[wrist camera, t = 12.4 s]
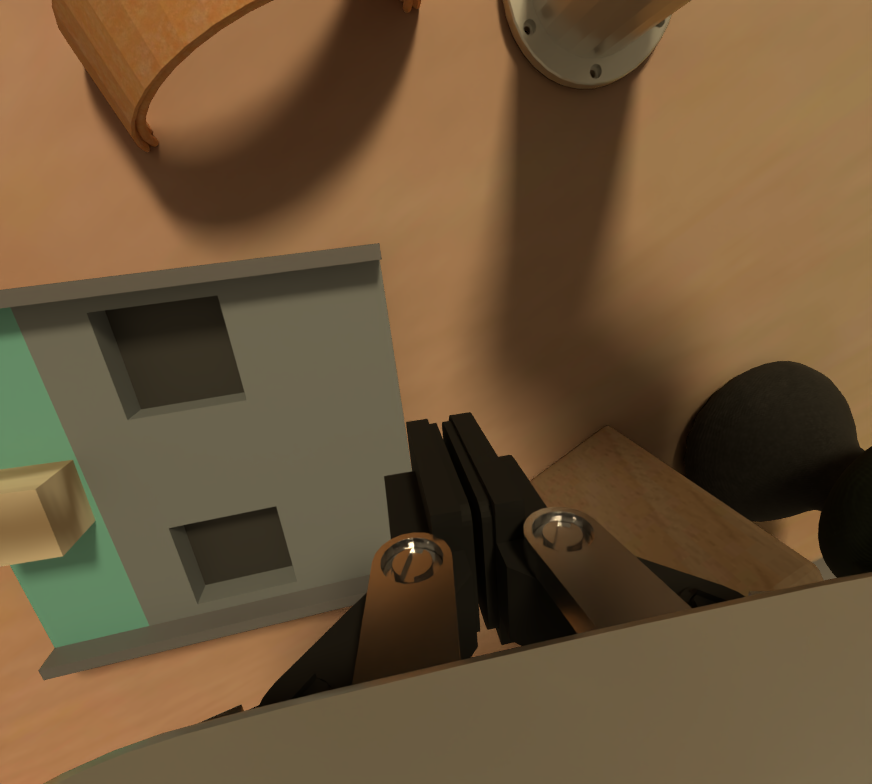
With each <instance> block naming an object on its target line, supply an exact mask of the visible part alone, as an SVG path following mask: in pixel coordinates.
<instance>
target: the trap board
mask: <svg viewBox="0 0 872 784" xmlns="http://www.w3.org/2000/svg"><path fill="white" fill-rule="evenodd" d="M381 259H382V258H381V251H380V245H379V243H378V244H370V245H361V246H353V247H345V248H337V249H329V250H321V251H313V252H305V253H297V254H288V255H280V256H272V257H264V258H256V259H248V260H240V261H232V262H224V263H215V264H207V265H199V266H191V267H183V268H175V269H167V270H159V271H151V272H143V273H134V274H126V275H118V276H110V277H102V278H94V279H86V280H78V281H70V282H61V283H53V284H45V285H37V286H29V287H21V288H13V289H5V290H0V469H7V468H15V467H22V466H30V465H37V464H45V463H53V462H60V461H68V460H73V461H74V464H75V467H76V469H77V472H78V475H79V477H80V480H81V483H82V485H83V488H84V491H85V493H86V496H87V499H88V501H89V504H90V507H91V510H92V512H93V515H94V518H95V520H96V521H95V522H94V523H93V524H92V525H91V526H90V527H89V528H88V530H87V531H86V532H85V533H84V534H83V535H82V536H81V537H80V538H79V539H78V540H77V542H76V543H75V544H74V545H73V546H72V547H71V548H70V549H69V550H68V551H67V553H66V554H65V555H64V556H62V557H56V558H50V559H44V560H38V561H31V562H25V563H19V564H13V565H10V566H11V568H12V570H13V572H14V574H15V576H16V577H17V579H18V581H19V583H20V585H21V587H22V588H23V590H24V592H25V594H26V596H27V598H28V599H29V601H30V603H31V605H32V607H33V609H34V611H35V612H36V614H37V616H38V618H39V620H40V622H41V623H42V625H43V627H44V629H45V631H46V633H47V634H48V636H49V638H50V640H51V642H52V644H53V646H54V647H55V648H54V650H53V651H52V652H51V654H50V655H49V657H48V658H47V659H46V661H45V662H44V664H43V665H42V666H41V668H40V669H39V670H38V671H39V673H40V674H41V676H42V678H43V680H47V679H51V678H55V677H59V676H63V675H67V674H72V673H76V672H80V671H84V670H88V669H92V668H96V667H100V666H105V665H109V664H113V663H117V662H121V661H125V660H129V659H134V658H138V657H142V656H146V655H150V654H154V653H158V652H162V651H167V650H171V649H175V648H179V647H183V646H187V645H191V644H195V643H200V642H204V641H208V640H212V639H216V638H220V637H224V636H229V635H233V634H237V633H241V632H245V631H249V630H253V629H257V628H262V627H266V626H270V625H274V624H278V623H282V622H286V621H291V620H295V619H299V618H303V617H307V616H311V615H315V614H319V613H324V612H328V611H332V610H336V609H340V608H344V607H348V606H352V605H354V604H355V603H356V602H357V601H358V600H359V599H361V598H362V597H363V596H364V595H365V594H366V593H367V590H368V584H369V577H370V571H371V565H372V561H373V558H374V556H375V553H376V552H377V551H378V550H379V548H380V547H381V546H382V545H383V544H385V543H386V542H388V541H389V540H390V539H391V536H390V527H389V518H388V509H387V499H386V490H385V481H384V476H387V475H393V474H399V473H405V472H411V471H412V469H411V462H410V456H409V449H408V443H407V436H406V429H405V423H404V416H403V410H402V403H401V397H400V390H399V384H398V377H397V370H396V364H395V357H394V351H393V344H392V338H391V331H390V325H389V318H388V311H387V305H386V298H385V292H384V285H383V279H382V272H381V266H380V260H381Z"/></svg>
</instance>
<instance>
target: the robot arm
mask: <svg viewBox="0 0 872 784" xmlns="http://www.w3.org/2000/svg"><path fill="white" fill-rule="evenodd" d="M690 1H691V0H503V5H504V10H505V15H506V18H507V21H508V24H509V27H510V29H511V32H512V35H513V37H514V39H515V41H516V42H517V44H518V46H519V48H520V49H521V51H522V53H523V54H524V55H525V57H526V58H527V59H528V60H529V61H530V63H531V64H532V65H533V66H534V67H535V68H536V69H537V70H538V71H540V72H541V73H542V74H543V75H545V76H546V77H547V78H548V79H551V80H553V81H555V82H557V83H559V84H561V85H563V86H567V87H572V88H576V89H594V88H597V87H601V86H605V85H609V84H611V83H612V82H614V81H616V80H618V79H620V78H622V77H624V76H625V75H627V74H628V73H630V72H631V71H633V70H634V69H636V68H637V67H638V66H639V65H640V64H641V63H642V62H643V61H644V60H645V59H646V58H647V57H648V56H649V55H650V54H651V52H652V51H653V49H654V48H655V47H656V45H657V44H658V43H659V41H660V40H661V38H662V36H663V34H664V32H665V30H666V28H667V26H668V24H669V21H670V19H671V16H672V14H673V13H674V12H676V11H677V10H678V9H680V8H681V7H683V6H684V5H685V4H687V3H688V2H690ZM524 29H525V30H527V32H528V35H527V34H526V33H525V32H524ZM590 73H591V74H592V76H591V74H590ZM406 426H407V434H408V442H409V450H410V458H411V466H412V471H411V472H405V473H399V474H393V475H387V476H384V481H385V490H386V499H387V509H388V518H389V527H390V536H391V539H390V540H389V541H388V542H386V543H385V544H383V545H382V546H381V547H380V548H379V550H378V551H377V552H376V553H375V556H374V558H373V561H372V565H371V571H370V577H369V584H368V590H367V593H366V594H365V595H364V596H363V597H362V598H361V599H359V600H358V601H357V602H356V603H355V604H354V605H353V606H352V607H351V608H350V609H349V610H348V611H347V612H346V613H345V614H344V615H343V616H342V617H341V618H340V619H339V620H338V621H337V622H336V623H335V624H334V625H333V626H332V627H331V628H330V629H329V630H328V631H327V632H326V633H325V634H324V635H323V636H322V637H321V638H320V639H319V640H318V641H317V642H316V643H315V644H314V645H313V646H312V647H311V648H310V649H309V650H308V651H307V652H306V653H305V654H304V655H303V656H302V657H301V658H300V659H299V660H298V661H297V662H296V663H295V664H294V665H293V666H292V667H291V668H290V669H288V670H287V671H286V672H285V673H284V674H283V675H282V676H281V677H280V678H279V679H278V680H277V681H276V682H275V683H274V685H273V686H272V687H271V688H270V689H269V691H268V692H267V693H266V694H265V696H264V697H263V699H262V701H261V703H260V705H258V706H256V707H254V708H251V709H249V710H246V711H244V710H243V707H242V704H241V705H239V706H236V707H234V708H232V709H229V710H227V711H225V712H223V713H220V714H218V715H216V716H213V717H211V718H209V719H207V720H204V721H202V722H200V723H197V724H194V725H191V726H187V727H183V728H180V729H176V730H172V731H169V732H165V733H162V734H159V735H156V736H153V737H151V738H148V739H145V740H142V741H139V742H137V743H134V744H131V745H128V746H125V747H123V748H120V749H117V750H114V751H112V752H110V753H107V754H105V755H103V756H101V757H98V758H96V759H94V760H92V761H89V762H87V763H85V764H83V765H80V766H78V767H76V768H74V769H71V770H69V771H67V772H65V773H62V774H60V775H59V776H57V777H55V778H53V779H51V780H49V781H48V782H46V783H44V784H872V572H869V573H863V574H857V575H851V576H846V577H840V578H834V579H829V580H824V581H819V582H815V583H810V584H805V585H800V586H796V587H791V588H786V589H781V590H776V591H749V594H748V596H747V597H745V596H744V595H742V594H741V593H739V592H737V591H735V590H733V589H730V588H728V587H726V586H723V585H721V584H718V583H715V582H712V581H709V580H705V579H702V578H699V577H696V576H693V575H690V574H687V573H684V572H681V571H678V570H675V569H672V568H669V567H666V566H663V565H660V564H657V563H654V562H651V561H648V560H645V559H642V558H639V557H636V556H634V555H633V554H632V553H631V552H630V551H629V550H628V549H627V548H626V547H625V546H623V545H622V544H621V543H620V542H619V541H618V540H617V539H616V538H615V537H614V536H613V535H611V534H610V533H609V532H608V531H607V530H606V529H605V528H604V527H603V526H602V525H601V524H599V523H598V522H597V521H596V520H595V519H593V518H592V517H591V516H589V515H588V514H586V513H584V512H581V511H579V510H576V509H572V508H567V507H549V508H548V507H547V506H546V504H545V503H544V502H543V500H542V499H541V497H540V496H539V494H538V493H537V491H536V490H535V488H534V487H533V485H532V484H531V482H530V481H529V479H528V478H527V477H526V475H525V474H524V472H523V471H522V469H521V468H520V466H519V465H518V463H517V462H516V460H515V459H514V458H513V457H512V455H506V456H500V457H498V456H497V454H496V453H495V451H494V449H493V448H492V446H491V445H490V443H489V441H488V440H487V438H486V436H485V435H484V433H483V432H482V430H481V428H480V427H479V425H478V423H477V422H476V420H475V419H474V417H473V415H472V414H471V413H470V412H469V413H462V414H456V415H450V416H449V421H446V422H442V431H443V438H442V436H441V433H440V431H439V428H438V426H437V424H436V423H433V424H429V422H428V420H427V419H423V420H417V421H410V422H406ZM478 603H479V605H478ZM479 607H480V610H481V613H482V616H483V619H484V622H485V625H486V627H487V629H493V628H496V630H497V633H498V636H499V639H500V642H501V645H504V644H508V643H513V642H515V643H517V644H519V645H521V647H516V648H512V649H508V650H503V651H499V652H494V653H490V654H485V655H481V656H476V657H472V658H471V656H472V655H473V653H474V652H475V650H476V649H477V647H478V643H477V632H479V631H480V619H479Z"/></svg>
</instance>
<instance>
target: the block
mask: <svg viewBox="0 0 872 784" xmlns="http://www.w3.org/2000/svg"><path fill="white" fill-rule="evenodd" d="M95 521H96V520H95V518H94V515H93V512H92V510H91V507H90V504H89V501H88V499H87V496H86V493H85V491H84V488H83V485H82V483H81V480H80V477H79V475H78V472H77V469H76V467H75V464H74V461H73V460H68V461H60V462H53V463H45V464H37V465H30V466H22V467H15V468H7V469H0V567H1V566H7V565H13V564H19V563H25V562H31V561H38V560H44V559H50V558H56V557H62V556H64V555H65V554H66V553H67V551H68V550H69V549H70V548H71V547H72V546H73V545H74V544H75V543H76V542H77V540H78V539H79V538H80V537H81V536H82V535H83V534H84V533H85V532H86V531H87V530H88V528H89V527H90V526H91V525H92V524H93V523H94V522H95Z"/></svg>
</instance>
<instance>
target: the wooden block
mask: <svg viewBox="0 0 872 784" xmlns="http://www.w3.org/2000/svg"><path fill="white" fill-rule="evenodd" d="M530 482H531V484H532V485H533V487H534V488H535V490H536V491H537V493H538V494H539V496H540V497H541V499H542V500H543V502H544V503H545V504H546V506H547V507H548V508H549V507H567V508H572V509H576V510H579V511H581V512H584V513H586V514H588V515H589V516H591V517H592V518H593V519H595V520H596V521H597V522H598V523H599V524H601V525H602V526H603V527H604V528H605V529H606V530H607V531H608V532H609V533H610V534H611V535H613V536H614V537H615V538H616V539H617V540H618V541H619V542H620V543H621V544H622V545H623V546H625V547H626V548H627V549H628V550H629V551H630V552H631V553H632V554H633V555H634V556H636V557H639V558H642V559H645V560H648V561H651V562H654V563H657V564H660V565H663V566H666V567H669V568H672V569H675V570H678V571H681V572H684V573H687V574H690V575H693V576H696V577H699V578H702V579H705V580H709V581H712V582H715V583H718V584H721V585H723V586H726V587H728V588H730V589H733V590H735V591H737V592H739V593H741V594H742V595H744V596H745V597H747V596H748V594H749V591H776V590H781V589H786V588H791V587H796V586H800V585H805V584H810V583H815V582H819V581H824V580H823V578H822V576H821V573H820V571H819V569H818V568H817V567H816V565H815V564H813V563H812V562H810V561H809V560H807V559H806V558H804V557H803V556H801V555H800V554H799V553H797V552H796V551H794V550H793V549H791V548H790V547H788V546H787V545H785V544H784V543H782V542H781V541H779V540H778V539H776V538H775V537H773V536H772V535H770V534H769V533H767V532H766V531H764V530H763V529H761V528H760V527H759V526H757V525H756V524H754V523H753V522H751V521H750V520H748V519H747V518H745V517H744V516H742V515H741V514H739V513H738V512H736V511H735V510H733V509H732V508H730V507H729V506H727V505H726V504H724V503H723V502H721V501H720V500H718V499H717V498H716V497H714V496H713V495H711V494H710V493H708V492H707V491H705V490H704V489H702V488H701V487H699V486H698V485H696V484H695V483H693V482H692V481H690V480H689V479H687V478H686V477H684V476H683V475H681V474H680V473H678V472H677V471H675V470H674V469H673V468H671V467H670V466H668V465H667V464H665V463H664V462H662V461H661V460H659V459H658V458H656V457H655V456H653V455H652V454H650V453H649V452H647V451H646V450H644V449H643V448H641V447H640V446H638V445H637V444H635V443H634V442H633V441H631V440H630V439H628V438H627V437H625V436H624V435H622V434H621V433H619V432H618V431H616V430H615V429H613V428H612V427H610V426H605V427H603V428H602V429H601V430H599V431H598V432H597V433H595V434H594V435H592V436H591V437H590V438H588V439H587V440H586V441H584V442H583V443H582V444H580V445H579V446H577V447H576V448H575V449H573V450H572V451H571V452H569V453H568V454H567V455H565V456H564V457H562V458H561V459H560V460H558V461H557V462H556V463H554V464H553V465H552V466H550V467H549V468H547V469H546V470H545V471H543V472H542V473H541V474H539V475H538V476H536V477H535V478H534V479H532V480H531V481H530Z"/></svg>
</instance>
